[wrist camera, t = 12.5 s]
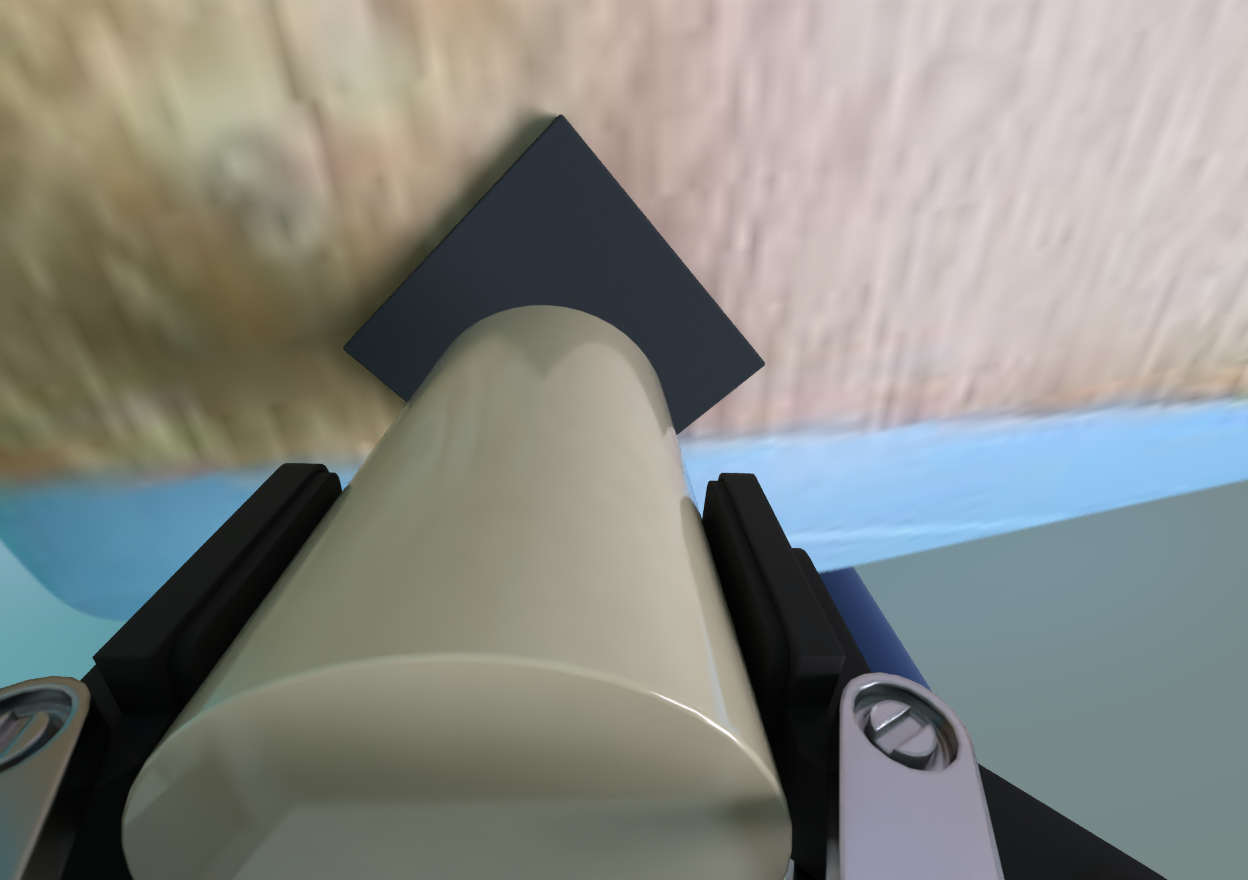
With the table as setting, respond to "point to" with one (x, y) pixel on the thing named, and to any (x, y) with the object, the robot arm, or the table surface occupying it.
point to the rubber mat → (561, 280)
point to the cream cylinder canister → (485, 654)
